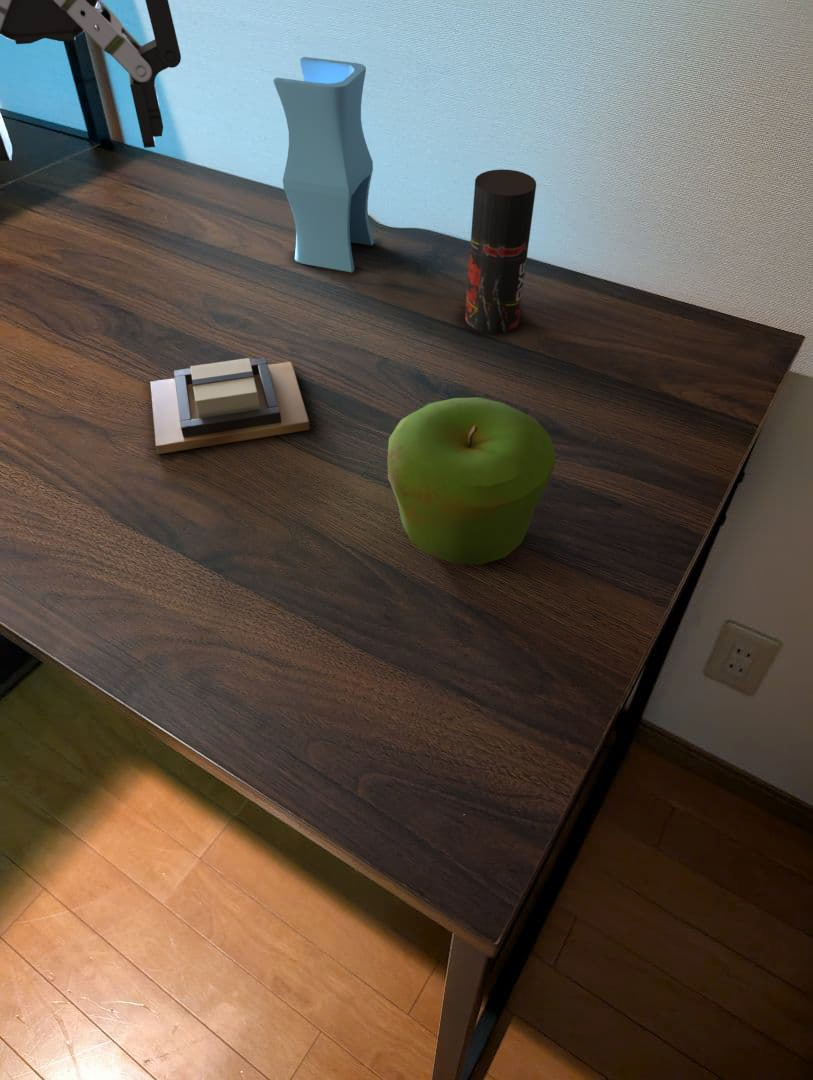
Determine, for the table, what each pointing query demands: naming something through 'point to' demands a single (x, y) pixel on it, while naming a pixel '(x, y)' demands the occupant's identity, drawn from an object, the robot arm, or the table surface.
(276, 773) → the table surface
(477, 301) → the deodorant
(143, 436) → the table surface
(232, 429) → the base pad
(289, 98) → the vase
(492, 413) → the apple
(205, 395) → the ivory pad
